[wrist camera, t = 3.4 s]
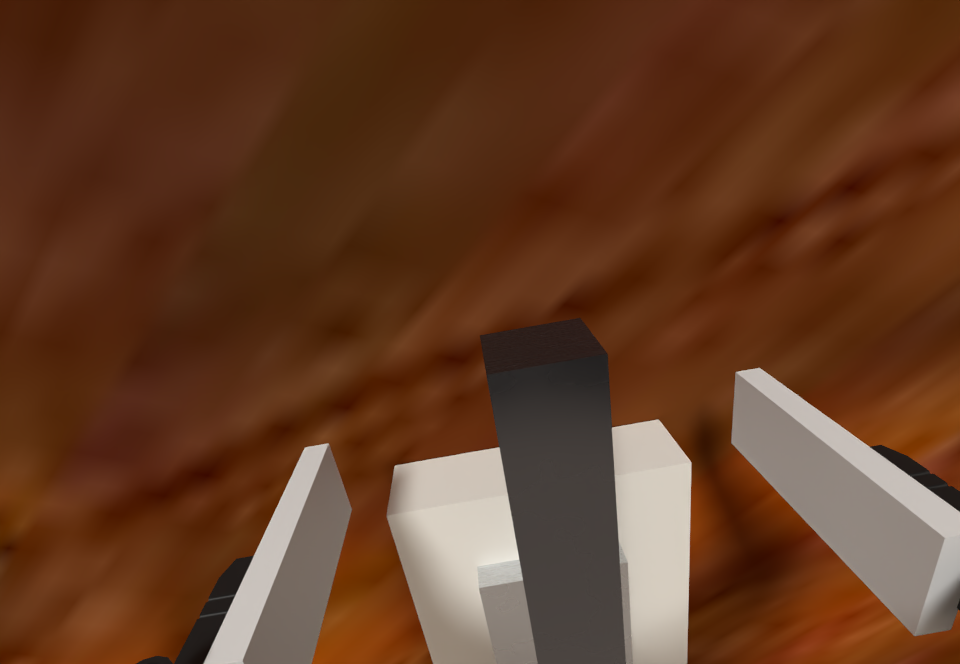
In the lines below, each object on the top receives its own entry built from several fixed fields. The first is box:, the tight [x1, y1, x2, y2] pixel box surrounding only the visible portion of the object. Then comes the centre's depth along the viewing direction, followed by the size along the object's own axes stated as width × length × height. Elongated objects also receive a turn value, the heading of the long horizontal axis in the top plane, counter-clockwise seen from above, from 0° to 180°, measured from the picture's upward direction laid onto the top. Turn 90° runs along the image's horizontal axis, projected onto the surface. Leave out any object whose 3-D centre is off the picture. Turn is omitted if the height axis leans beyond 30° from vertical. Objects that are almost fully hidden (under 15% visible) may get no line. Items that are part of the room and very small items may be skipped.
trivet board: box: [387, 419, 691, 664], centre depth 22 cm, size 16×12×3 cm
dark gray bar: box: [477, 318, 633, 664], centre depth 16 cm, size 24×6×6 cm, turn 9°
